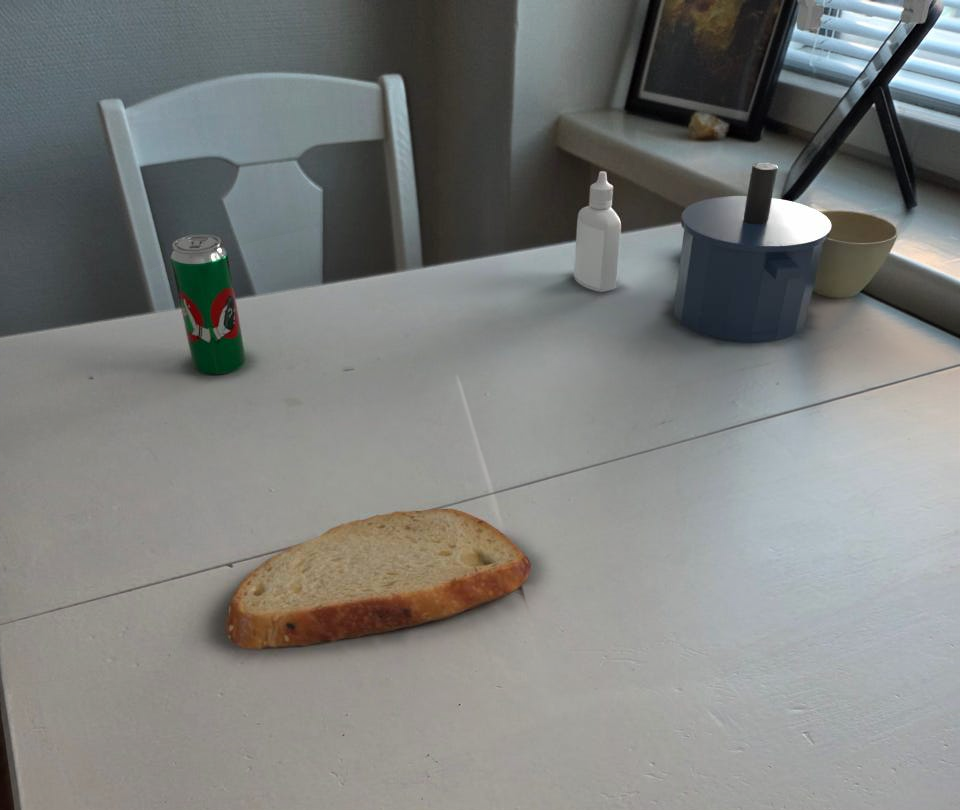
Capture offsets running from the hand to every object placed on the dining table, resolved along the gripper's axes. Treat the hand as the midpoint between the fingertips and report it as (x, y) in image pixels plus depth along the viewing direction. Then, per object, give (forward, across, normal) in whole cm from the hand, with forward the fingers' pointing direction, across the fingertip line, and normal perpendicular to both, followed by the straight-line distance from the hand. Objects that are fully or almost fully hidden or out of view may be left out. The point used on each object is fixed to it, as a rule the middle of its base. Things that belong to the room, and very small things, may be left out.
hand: (860, 26), depth 84 cm
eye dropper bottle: (+27, +19, -15) cm, 36 cm away
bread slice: (+27, +46, +37) cm, 65 cm away
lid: (+18, +5, -4) cm, 19 cm away
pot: (+27, +6, -4) cm, 28 cm away
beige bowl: (+27, -8, -9) cm, 30 cm away
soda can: (+26, +60, 0) cm, 65 cm away
